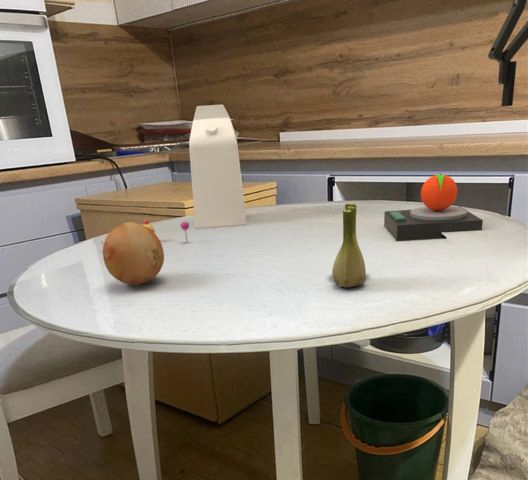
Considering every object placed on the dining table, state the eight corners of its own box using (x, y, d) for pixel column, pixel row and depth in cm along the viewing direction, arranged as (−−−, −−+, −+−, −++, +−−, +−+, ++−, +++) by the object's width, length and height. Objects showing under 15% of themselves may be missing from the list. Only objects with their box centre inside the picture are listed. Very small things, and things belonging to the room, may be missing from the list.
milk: (245, 215, 136) (236, 103, 125) (245, 224, 126) (236, 103, 115) (199, 218, 136) (186, 107, 125) (195, 228, 126) (180, 107, 115)
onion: (152, 293, 83) (142, 229, 79) (97, 292, 86) (83, 230, 82) (178, 274, 92) (169, 216, 87) (126, 273, 94) (116, 216, 90)
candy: (104, 255, 108) (98, 225, 105) (102, 247, 114) (96, 218, 112) (192, 242, 112) (188, 213, 110) (184, 235, 119) (180, 207, 117)
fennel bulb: (351, 293, 77) (351, 209, 72) (323, 287, 80) (322, 206, 75) (373, 282, 81) (374, 202, 76) (346, 277, 84) (346, 199, 79)
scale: (459, 220, 114) (460, 202, 113) (481, 235, 102) (483, 215, 100) (384, 225, 115) (384, 207, 114) (396, 240, 103) (397, 221, 101)
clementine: (458, 214, 102) (461, 176, 99) (420, 215, 104) (422, 177, 101) (454, 206, 109) (457, 170, 106) (419, 207, 111) (421, 171, 108)
